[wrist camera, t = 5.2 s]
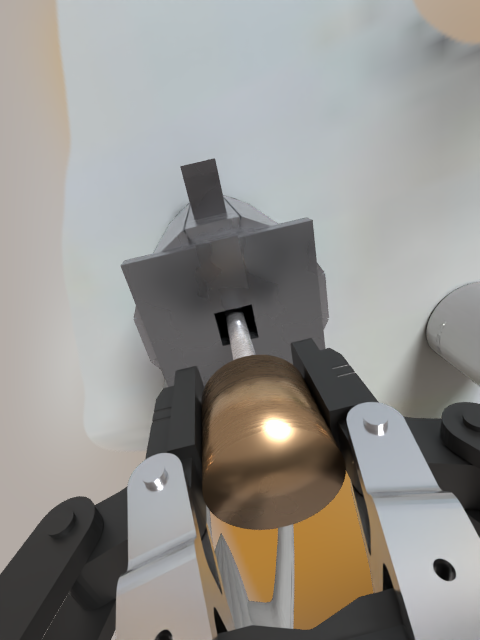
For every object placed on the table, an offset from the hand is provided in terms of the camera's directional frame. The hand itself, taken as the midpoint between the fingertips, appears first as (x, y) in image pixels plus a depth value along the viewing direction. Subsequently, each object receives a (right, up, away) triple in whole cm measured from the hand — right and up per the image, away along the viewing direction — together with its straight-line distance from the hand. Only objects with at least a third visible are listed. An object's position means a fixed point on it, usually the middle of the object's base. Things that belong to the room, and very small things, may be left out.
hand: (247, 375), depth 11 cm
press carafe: (-3, +9, +17) cm, 19 cm away
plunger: (-2, +6, +12) cm, 14 cm away
